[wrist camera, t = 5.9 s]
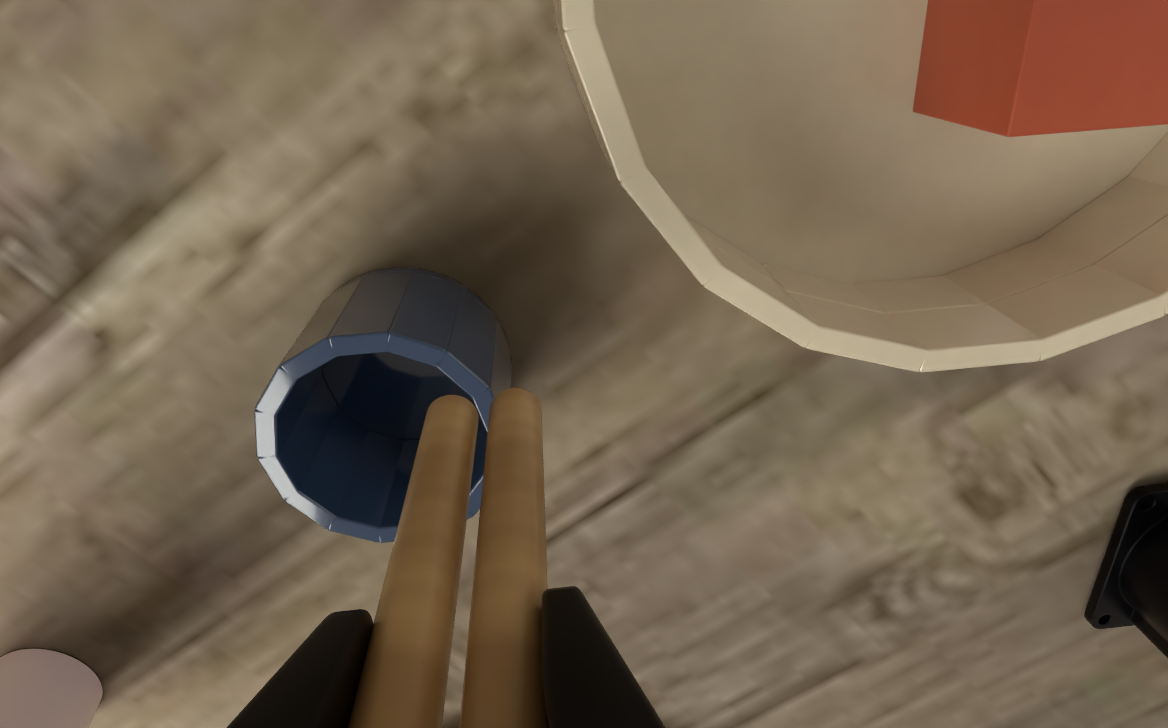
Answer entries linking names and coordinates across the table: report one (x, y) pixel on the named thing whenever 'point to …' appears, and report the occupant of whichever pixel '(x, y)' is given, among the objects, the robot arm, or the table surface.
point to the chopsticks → (432, 571)
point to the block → (1044, 65)
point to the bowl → (865, 184)
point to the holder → (376, 395)
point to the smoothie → (46, 690)
